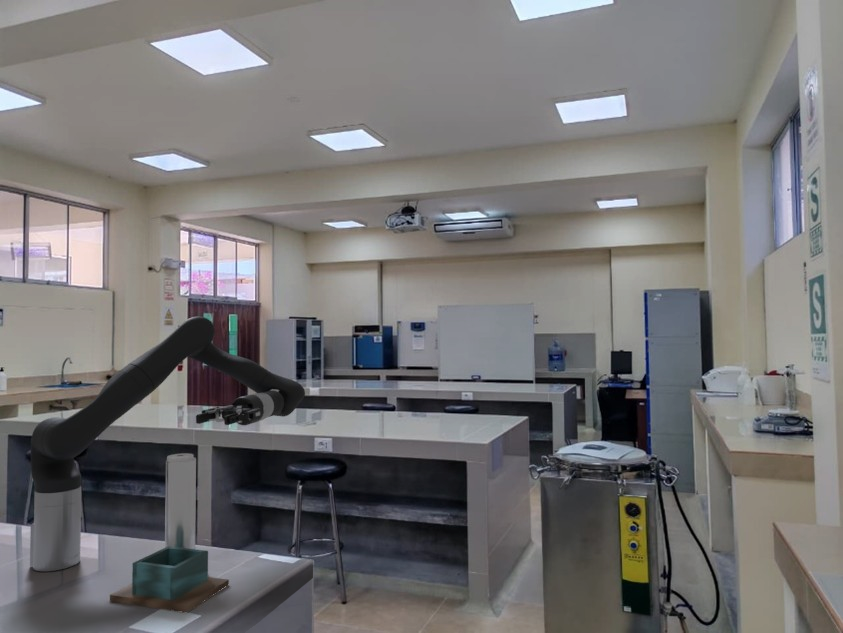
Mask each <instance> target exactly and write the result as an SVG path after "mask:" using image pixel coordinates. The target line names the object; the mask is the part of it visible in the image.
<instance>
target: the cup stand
mask: <svg viewBox="0 0 843 633" xmlns="http://www.w3.org/2000/svg"><path fill="white" fill-rule="evenodd" d="M131 572H132V577H131V578H132V580H131V581H132V582H131V583H130V584H128V585H126V586H124V587H123V588H120V589H119V590H116V591H114V592H113V593H110V594H109V602H113V603H121V604H125V605H132V606H141V607H146V608H151V609H152V608H153V609H159V610H165V609H166V611H171V610H174V612H178V611H182V612H181V613H184V612H187V613H188V611H189V610H190V611H192V610H193V609H195V608H197V607H198V606H200V605H201V604H202V602H203V601H204V600H206V599H207V598H209V597H210V596H212V595H213V594H215V593H216V594H218V593H219V592H220V591H219V590H221V589H222V588H224V587H225V586H227V585H228V584H229V583H230V579H227V578H221V577H220V578H219V577H212V576H209V550H204V549H203V550H202V549H196V548H195V549H187V548H179V547H170V546H168V547H166V548H165V547H164V548H161V549H160V550H158V551H155V552H153V553H152V554H149V555H146V556H144V557H142V558H140V559H138V560H136V561H134V562H132V571H131ZM229 585H230V584H229ZM227 587H228V586H227ZM224 589H225V588H224ZM222 590H223V589H222ZM222 590H221V591H222ZM218 591H219V592H218ZM217 592H218V593H217ZM216 594H215V595H216ZM213 596H214V595H213ZM213 596H212V597H213ZM210 598H211V597H210ZM210 598H209V599H210ZM207 600H208V599H207ZM207 600H206V601H207ZM204 602H205V601H204ZM204 602H203V603H204ZM200 603H201V604H200ZM197 605H198V606H197ZM194 607H195V608H194ZM191 609H192V610H191ZM190 611H189V612H190Z"/></svg>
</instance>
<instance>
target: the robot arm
mask: <svg viewBox="0 0 843 633" xmlns="http://www.w3.org/2000/svg"><path fill="white" fill-rule="evenodd" d="M215 334H216V329H215V325H214V324H213V322H212V321H211V320H210V319H209V318H207V317H205V316H192V317H190V318H187V319H186V320H184V321H183V322H182V323H181V324H180V325H179V326H178V327H177V328H176V329H175V330H174V331H172V333H170V334H169V335H168V336H167V337H166V338H165V339H163V340H162V341H161V342H160V343H158V344H157V345H155V346H154V347H152V348H150V349H148V350H147V351H146V352H144V353H142V355H140V356H138V357H137V358H136V359H134V360H132V361H131V362H130V363H128V364H127V365H125V366H124V367H123V368H121V369H119V370H118V371H117V372H116V373H115V374H114V375H112V376H111V377H110V378H109V379H108V380H107V381H106V383H105V385H104V386H103V387H102V389H101V390H100V392H99V393H97V394H98V395H96V397H95V398H94V399H93V400H92V401H91V402H89V404H87V405H86V406H84V407H82V408H81V409H79V411H77V412H75V413H74V414H72V415H70V416H69V417H67V418H64V417H54V416H53V417H50V418H46V419H44V420H42V421H40V422H39V423H38V424H37V425H36V427H35V428H34V430H33V432H32V435H31V439H30V473H31V479H32V481H33V484H34V501H33V503H34V509H33V510H34V511H33V512H34V513H33V515H34V516H33V523H31V525H30V538H29V539H30V543H29V545H30V546H29V547H30V548H29V549H30V550H29V567H31V568H32V570H34V571H37V572H54V571H60V570H64V569H67V568H71V567H73V566H76V565H77V564H79V563H80V562H81V543H82V542H81V539H82V538H81V534H82V532H81V531H82V474H81V471H79V470H78V468H77V466H76V463H75V457H78V455H79V456H80V454H82V453H83V452H84V451H85V450H86V449H87V448H88V447H89V446H90V445H91V444H92V443H93V442H94V441H95V440H97V438H98V437H99V436H100V435H101V434H102V433H103V432H105V430H106V429H107V428H109V427H110V426H111V425H112V424H113V423H115V422H116V421H117V420H119V419H120V418H121V417H122V416H123V415H125V414H126V413H128V412H129V411H130V410H131V409H133V408H134V407H135V406H136V405H137V404H139V403H140V402H142V401H143V400H144V399H145V398H147V397H148V396H149V395H151V394H152V393H153V392H154V391H155V390H157V388H158V387H159V386H161V385H162V383H164V381H166V380H167V379H168V377H169V376H170V375H171V374H172V373H173V372H174V370H175V369H176V368H177V367H178V366H179V365H180V364H181V363H182V362H183V361H184V360H185V359H187V358H191V359H192V360H195V361H196V362H199V363H201V364H204V365H206V366H209V367H210V368H213V369H215V370H217V371H219V372H221V373H223V374H226V375H227V376H229V377H231V378H232V379H234V380H236V381H238V382H239V383H241V384H242V385H244V386H245V387H247V388H248V389H250V390H252V391H253V393H250V394H247V395H243V396H239V397H237V398H235V399H234V400H233V401H232V404H230V405H229V404H228V405H226V406H223V407H222V406H216V407H213V408H208V409H203V410H201V413H199V414H196V415H195V424H197V425H201V424H204V423H208V422H212V421H215V422H216V423H221V422H224V425H225V426H229V425H233V424H237V425H240V426H248V425H252V424H255V423H258V422H260V421H261V422H262V421H263V420H266V419H267V418H270V417H273V416H276V417H287V416H289V415H291V414H292V413H293V412H295V409H297V407H298V406H299V404H300V403H301V402H302V401H303V400H304V398H305V396H306V391H305V388H304V387H303V385H302V384H300V383H299V382H298V381H295V380H293V379H290V378H286V377H283V376H280V375H278V374H276V373H273V372H271V371H269V370H268V369H266V368H265V367H263V366H261V365H260V364H259V363H257V362H255V361H253V360H251V359H249V358H245V357H242V356H238V355H235V354H232V353H229V352H227V351H224V350H223V349H221V348H219V347H218V346H216V345H215V344H214V343H213V341H214V338H215ZM254 392H255V393H254ZM220 417H221V418H220Z"/></svg>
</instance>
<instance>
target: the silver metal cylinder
mask: <svg viewBox="0 0 843 633" xmlns="http://www.w3.org/2000/svg"><path fill="white" fill-rule="evenodd" d="M194 456H195V455H194V453H187V452H186V453H185V452H184V453H183V452H182V453H175V454H174V453H173V454H170V455H167V457H166V460H165V499H164V500H165V502H164V503H165V506H164V507H165V512H164V514H165V516H164V517H165V518H164V519H165V520H164V527H165V528H164V548H166V547H168V546H170V547H179V548H187V549H196V519H197V518H196V514H197V513H196V512H197V510H196V506H197V505H196V503H197V502H196V499H197V498H196V497H197V494H196V493H197V487H196V485H197V457H194Z"/></svg>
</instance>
